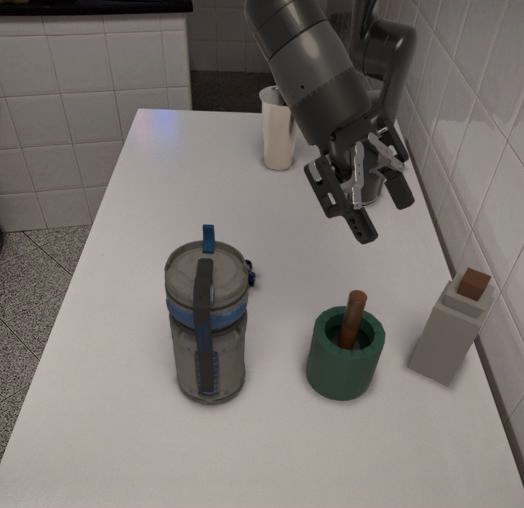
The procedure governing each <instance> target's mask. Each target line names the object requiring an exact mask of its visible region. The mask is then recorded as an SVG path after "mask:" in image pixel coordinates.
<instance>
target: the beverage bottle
mask: <svg viewBox="0 0 524 508" xmlns="http://www.w3.org/2000/svg"><path fill="white" fill-rule="evenodd" d="M245 259H246V258H245V257H244V255H243V254H242V252H241V251H240V250H239V249H237V248H236V247H234V246H233V245H231V244H228V243H226V242H223V241H218V240H216V233H215V225H214V224H208V223H204V224H202V239H200V240H193V241H190V242H187V243H183V244H182V245H180V246H179V247H177V248H175V249H174V250H173V251H172V252H171V253H170V254H169V256H168V257H167V260H166V262H165V265H164V268H163V270H164V290H165V303H166V308H167V310H168V321H169V329H170V333H171V341H172V349H173V356H174V363H175V364H174V365H175V370H176V381H177V384H178V387H179V389H180V390H181V391H182V393H183V394H184V395H185V396H186V397H188V398H189V399H191V400H193V401H195V402H196V403H200V404H204V405H209V404H210V405H217V404H222V403H224V402H227V401H229V400H231V399H232V398H233V397H235V396H236V395H237V394H238V393H239V392H240V391H241V389H242V388H243V386H244V384H245V381H246V363H245V346H246V345H245V343H246V332H247V327H248V317H249V316H248V314H249V313H248V303H249V290H248V286H249V282H248V266H247V263H246V261H245ZM249 287H250V286H249Z"/></svg>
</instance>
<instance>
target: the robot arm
mask: <svg viewBox="0 0 524 508" xmlns="http://www.w3.org/2000/svg"><path fill="white" fill-rule="evenodd" d="M380 1H381V0H352V7H351V20H350V21H351V22H350V35H349V53H348V52H347V49H346V47H345V46H344V43H343V41H342V39H341V38H340V36H339V35H338V34H337V32H336V31H335V29H334V27H333V26H332V24H331V22H330V21H329V19H328V16H327V14H326V13H325V10H324V8H323V6H322V4H321V2H320V0H244V2H243V16H244V19H245V22H246V25H247V27H248V28H249V31H250V33H251V35H252V37H253V39H254V40H255V43H256V44H257V46H258V48H259V50H260V52H261V53H262V55H263V57H264V59H265V61H266V63H267V65H268V67H269V69H270V71H271V74H272V77H273V80H274V82H275V86H277V87H278V89H279V91H280V93H281V95H282V97H283V98H284V100H285V102H286V104H287V106H288V108H289V110H290V112H291V113H292V115H293V117H294V119H295V121H296V123H297V125H298V126H299V131H300V132H301V134H302V136H303V138H304V139H305V142H306V143H307V145H309V146H312V147H313V146H316V147H317V148H318V150H319V151H318V152H319V154H320V156H319V157H317V158H316V159H314V160H312V161H310V162H309V163H306V164H305V165H304V166H303V173H304V175H305V177H306V179H307V181H308V183H309V185H310V187H311V190H312V191H313V193H314V195H315V197H316V199H317V201H318V204H319V205H320V207H321V210H322V211H323V213H324V215H325V217H326V218H327V219H329V220H330V219H333V218H336V217H343V218H344V220H345V222H346V223H347V225H348V228H349V230H350V231H351V233H352V235H353V237H354V238H355V240H356V241H357V242H358V243H359V244H360V245H362V246H364V245H367V244H370V243H373V242H375V241H376V240H377V239H378V237H379V233H378V231H377V229H376V227H375V225H374V223H373V220H372V219H371V217H370V216H369V213H368V211H367V209H366V208H365V206H367V205H371V204H372V203H374V202H375V201H376V200H377V198H378V197H379V196H381V192H382V189H383V185H384V186H385V188H386V190H387V192H388V194H389V196H390V198H391V200H392V203H393V204H394V206H395V208H396V209H397V210H398V211H402V210H405V209H407V208H410V207H411V206H413V205H414V204H415V202H416V199H415V197H414V195H413V192H412V189H411V188H410V185H409V183H408V181H407V179H406V177H405V175H404V173H403V172H404V171H405V167H406V165H405V163H406V162H407V161H409V160H410V155H409V152H408V150H407V148H406V147H405V144H404V143H403V141H402V139H401V137H400V135H399V133H398V131H397V130H396V127H395V124H396V120H397V116H398V113H399V109H400V107H401V103H402V100H403V97H404V92H405V89H406V86H407V82H408V78H409V75H410V73H411V72H410V71H411V69H412V66H413V63H414V59H415V56H416V52H417V49H418V44H419V43H418V42H419V41H418V39H419V34H418V30H417V27H415V26H414V25H411V24H408V23H404V22H401V21H397V20H393V19H389V18H384V17H381V15H380V13H379V12H380V11H379V7H380V6H379V5H380ZM359 75H360V76H362V77H365V78H369V79H373V80H376V81H379V82H382V84H383V85H382V88H379V89H374V90H373V89H372V90H366V89H365V87H364V85H363V83H362V80H361V79H360V76H359ZM390 146H391V147H393V148H394V151H395V153H396V154H394V151H393V149H391V148H390ZM329 194H331V196H332V198H333V200H334V202H335V203H333V202H332V200H331V198H330V195H329Z"/></svg>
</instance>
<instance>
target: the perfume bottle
mask: <svg viewBox="0 0 524 508" xmlns="http://www.w3.org/2000/svg"><path fill="white" fill-rule="evenodd" d="M491 279H492V276H491V275H490V274H487V273H484V272H482V271H480V270H476V269H475V268H471V267H467V268H466V270H465V272H464V274H463V273H460V272H456V274H455V276H454V278H452V280H451V279H448V281H447V283H446V284H445V286H444V287H443V289H442V291H441V293H440V294H439V297H438V298H437V300H436V302H435V304H434V305H433V307H432V309H431V312H430V314H429V316H428V318H427V321H426V323H425V326H424V329H423V331H422V333H421V335H420V337H419V340H418V342H417V345H416V347H415V349H414V352H413V354H412V356H411V358H410V361H409V364H407V365H408V366H407V368H408V369H409V370H412V371H414V372H416V373H418V374H420V375H422V376H425V377H427V378H429V379H431V380H433V381H434V382H438V383H440V384H441V385H444V386H446V387H450V385H451V383H452V381H453V379H454V377H455V376H456V375H457V372H458V370H459V369H460V367H461V365H462V364H463V361H464V359H465V358H466V356H467V354H468V352H469V351H470V348H471V347H472V345H473V343H474V341H475V339H476V338H477V336H478V335H479V332H480V331H481V329H482V327H483V325H484V323H485V320H486V318H487V316H488V314H489V312H490V310H491V308H492V306H493V303H494V301H495V297H492V295H493V294H494V291H495V289H496V287H495V286H493V285H490V284H489V283H490V281H491Z"/></svg>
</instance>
